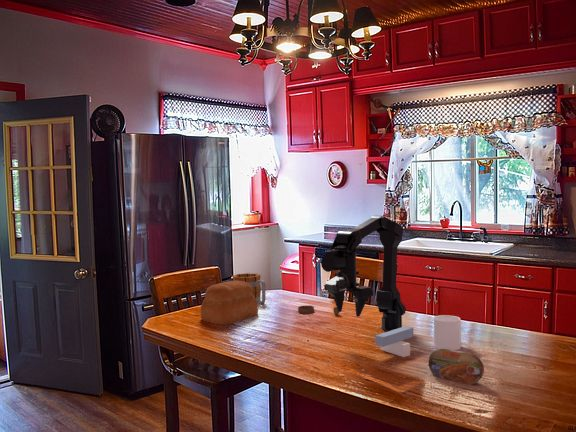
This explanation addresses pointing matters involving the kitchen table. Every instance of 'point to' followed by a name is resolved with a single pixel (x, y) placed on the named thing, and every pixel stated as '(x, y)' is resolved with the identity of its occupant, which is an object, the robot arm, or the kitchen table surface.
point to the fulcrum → (398, 348)
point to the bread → (228, 303)
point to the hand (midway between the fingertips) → (348, 314)
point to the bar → (393, 336)
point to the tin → (456, 366)
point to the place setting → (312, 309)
